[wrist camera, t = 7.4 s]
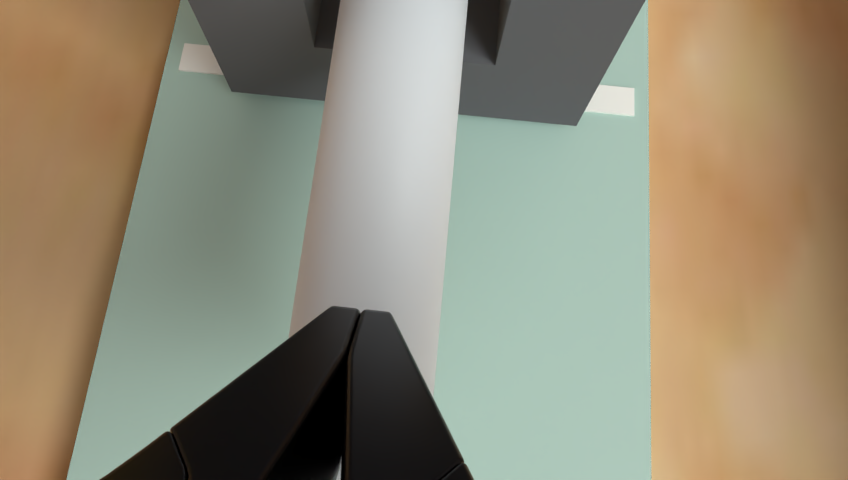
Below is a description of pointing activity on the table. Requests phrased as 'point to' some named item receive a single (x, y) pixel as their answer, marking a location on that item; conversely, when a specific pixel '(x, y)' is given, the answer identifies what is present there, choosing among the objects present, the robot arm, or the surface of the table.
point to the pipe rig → (391, 247)
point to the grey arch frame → (482, 58)
